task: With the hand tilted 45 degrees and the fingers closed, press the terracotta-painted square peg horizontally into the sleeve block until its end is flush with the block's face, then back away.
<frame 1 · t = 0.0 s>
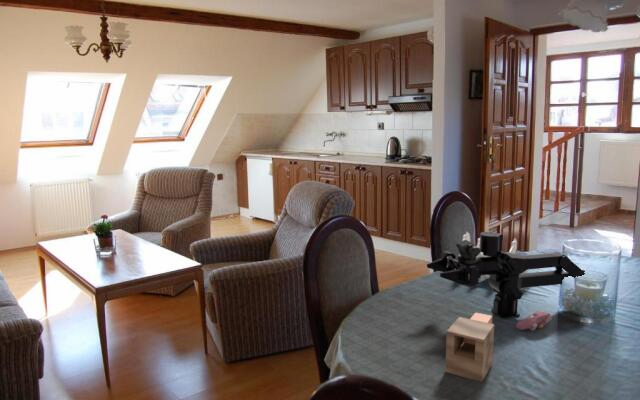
hand: (433, 270, 151), 17 cm above the table, tool horizontal, fingers open, 9 cm apart
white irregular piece: (492, 281, 189), on the table
peg: (478, 328, 130), point 8 cm above the table, slide at 0.0 cm
sleeve block: (469, 367, 126), on the table
pink rounded piece: (534, 329, 148), on the table
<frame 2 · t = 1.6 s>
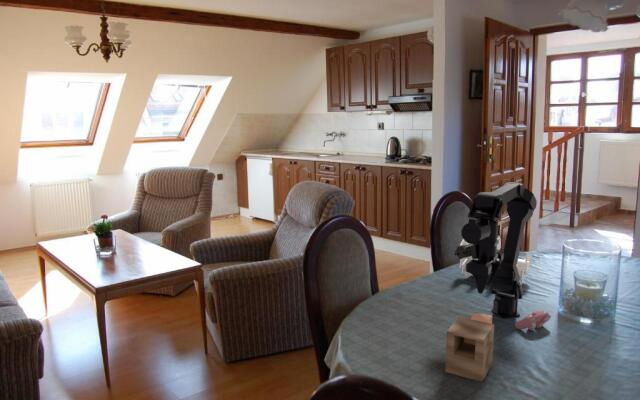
hand: (483, 289, 144), 13 cm above the table, tool pointing down, fingers open, 8 cm apart
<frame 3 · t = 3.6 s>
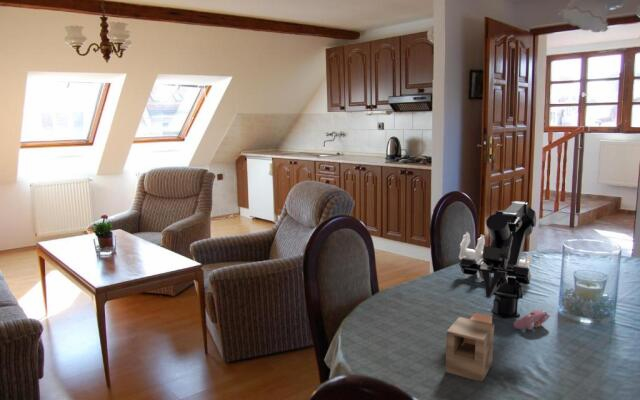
hand: (487, 297, 137), 13 cm above the table, tool tilted 45°, fingers closed
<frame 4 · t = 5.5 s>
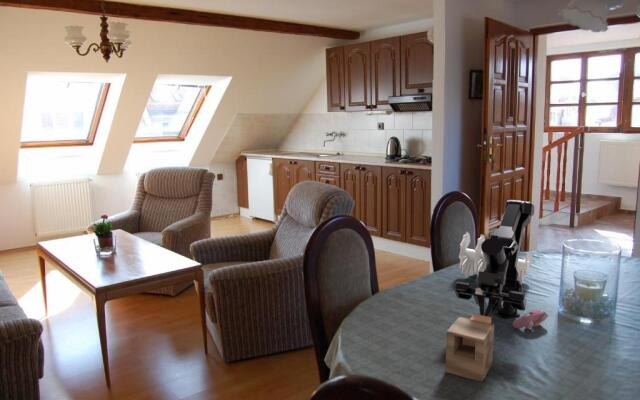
hand: (482, 323, 134), 8 cm above the table, tool tilted 45°, fingers closed, pressing on peg
peg: (477, 330, 129), point 8 cm above the table, slide at 1.0 cm, touching gripper
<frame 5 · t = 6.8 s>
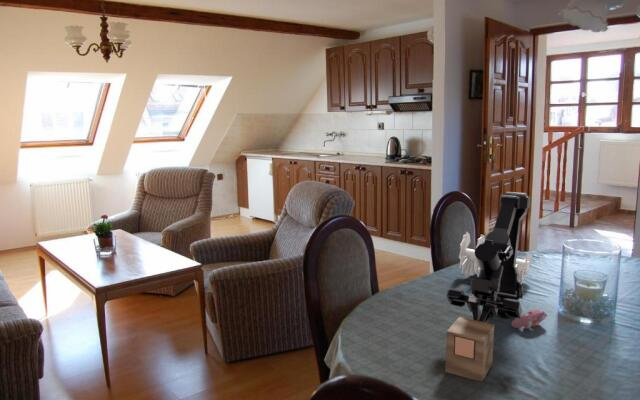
hand: (476, 332, 129), 8 cm above the table, tool tilted 45°, fingers closed, pressing on peg
peg: (470, 339, 124), point 8 cm above the table, slide at 7.2 cm, touching gripper
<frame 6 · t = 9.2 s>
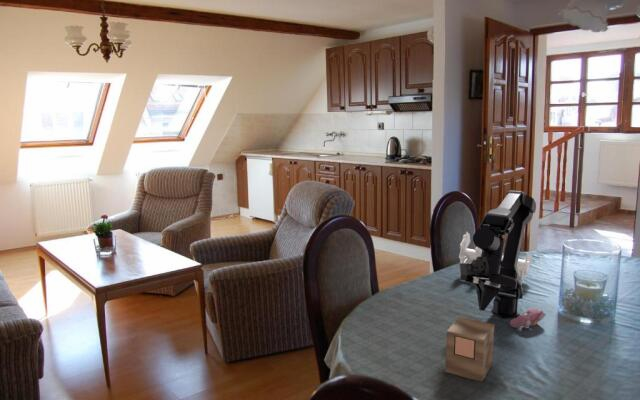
hand: (481, 310, 138), 9 cm above the table, tool tilted 25°, fingers closed
peg: (470, 339, 124), point 8 cm above the table, slide at 7.0 cm
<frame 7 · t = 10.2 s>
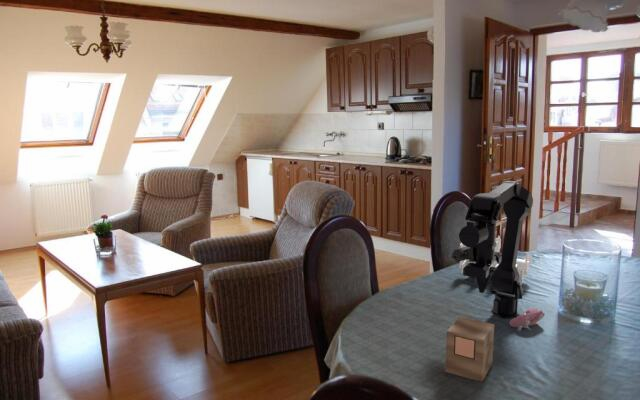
hand: (481, 292, 142), 13 cm above the table, tool pointing down, fingers closed
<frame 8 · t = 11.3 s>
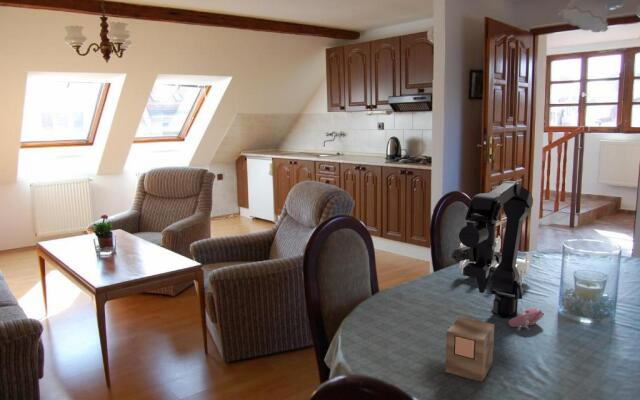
hand: (481, 292, 142), 13 cm above the table, tool pointing down, fingers closed
at the end: peg slide at 7.0 cm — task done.
